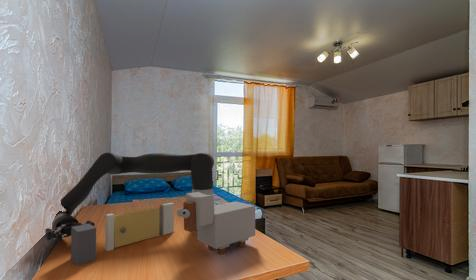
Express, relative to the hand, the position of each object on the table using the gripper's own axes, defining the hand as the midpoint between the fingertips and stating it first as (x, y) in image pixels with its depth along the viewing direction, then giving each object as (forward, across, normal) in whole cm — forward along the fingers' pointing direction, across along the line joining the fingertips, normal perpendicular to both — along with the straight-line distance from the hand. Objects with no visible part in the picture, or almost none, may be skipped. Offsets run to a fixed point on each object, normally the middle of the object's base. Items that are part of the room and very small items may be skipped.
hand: (76, 234), depth 83 cm
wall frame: (+7, +21, +6) cm, 23 cm away
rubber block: (+9, 0, +6) cm, 10 cm away
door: (+8, +18, +6) cm, 21 cm away
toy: (+35, +33, +6) cm, 48 cm away
